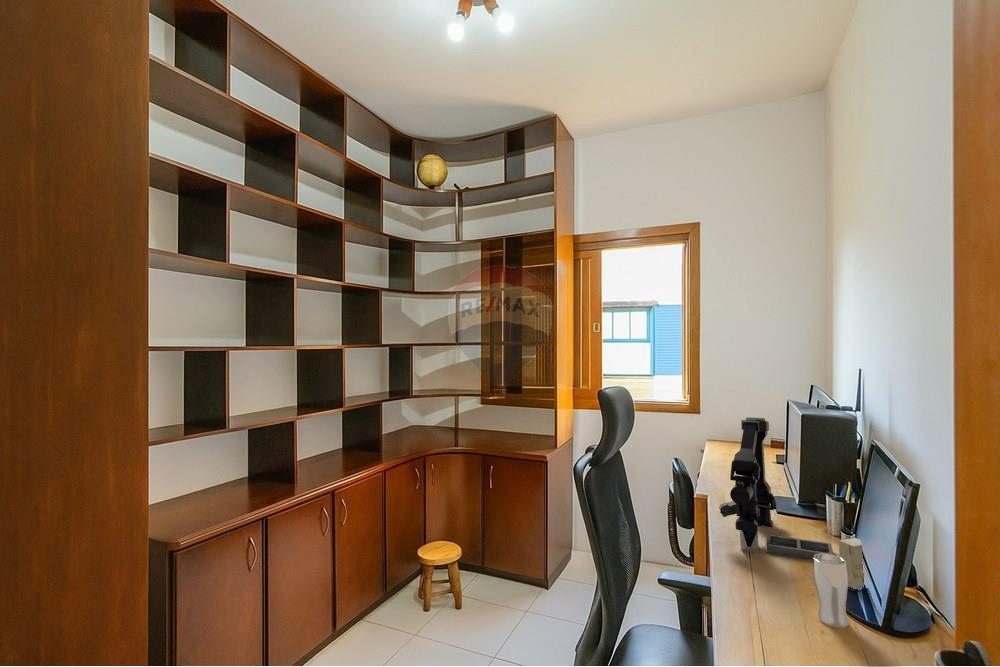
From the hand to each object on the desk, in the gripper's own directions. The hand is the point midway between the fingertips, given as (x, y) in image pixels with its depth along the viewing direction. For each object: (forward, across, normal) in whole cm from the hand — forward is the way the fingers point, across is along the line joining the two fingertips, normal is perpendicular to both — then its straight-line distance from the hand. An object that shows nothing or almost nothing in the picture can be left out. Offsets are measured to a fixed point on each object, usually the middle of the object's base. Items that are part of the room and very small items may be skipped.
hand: (749, 543), depth 159 cm
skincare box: (+2, +15, +27) cm, 31 cm away
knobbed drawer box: (+2, 0, 0) cm, 2 cm away
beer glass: (+2, +37, +20) cm, 42 cm away
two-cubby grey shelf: (+2, -3, +14) cm, 14 cm away
